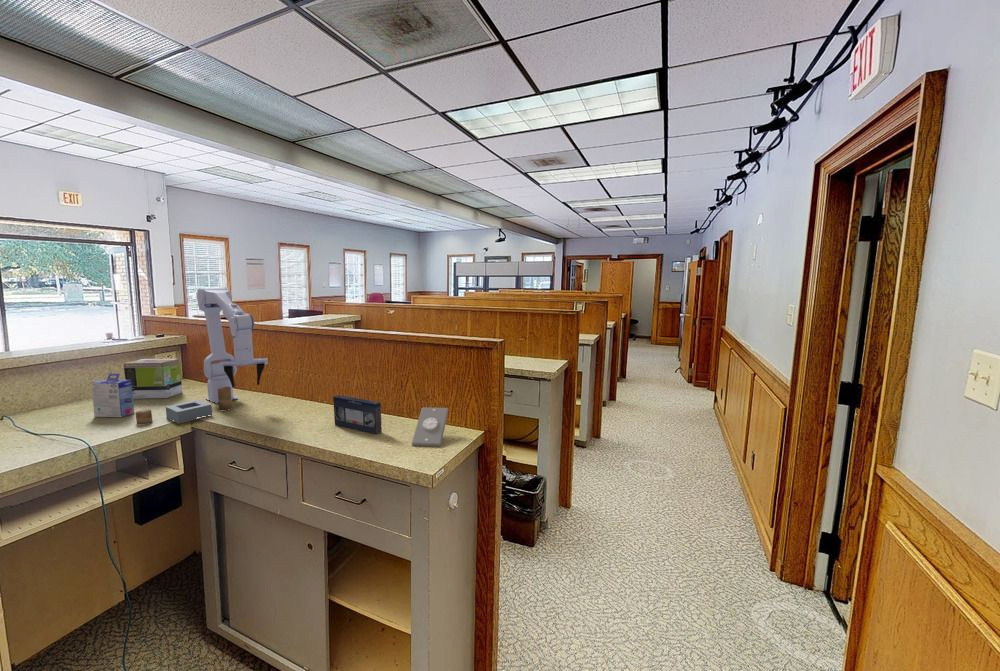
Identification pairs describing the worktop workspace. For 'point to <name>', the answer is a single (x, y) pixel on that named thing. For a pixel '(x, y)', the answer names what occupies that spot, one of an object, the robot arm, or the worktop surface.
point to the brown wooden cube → (144, 416)
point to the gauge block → (188, 411)
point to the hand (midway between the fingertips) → (246, 385)
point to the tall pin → (224, 398)
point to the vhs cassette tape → (357, 414)
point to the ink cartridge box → (112, 397)
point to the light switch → (430, 427)
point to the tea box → (154, 377)
